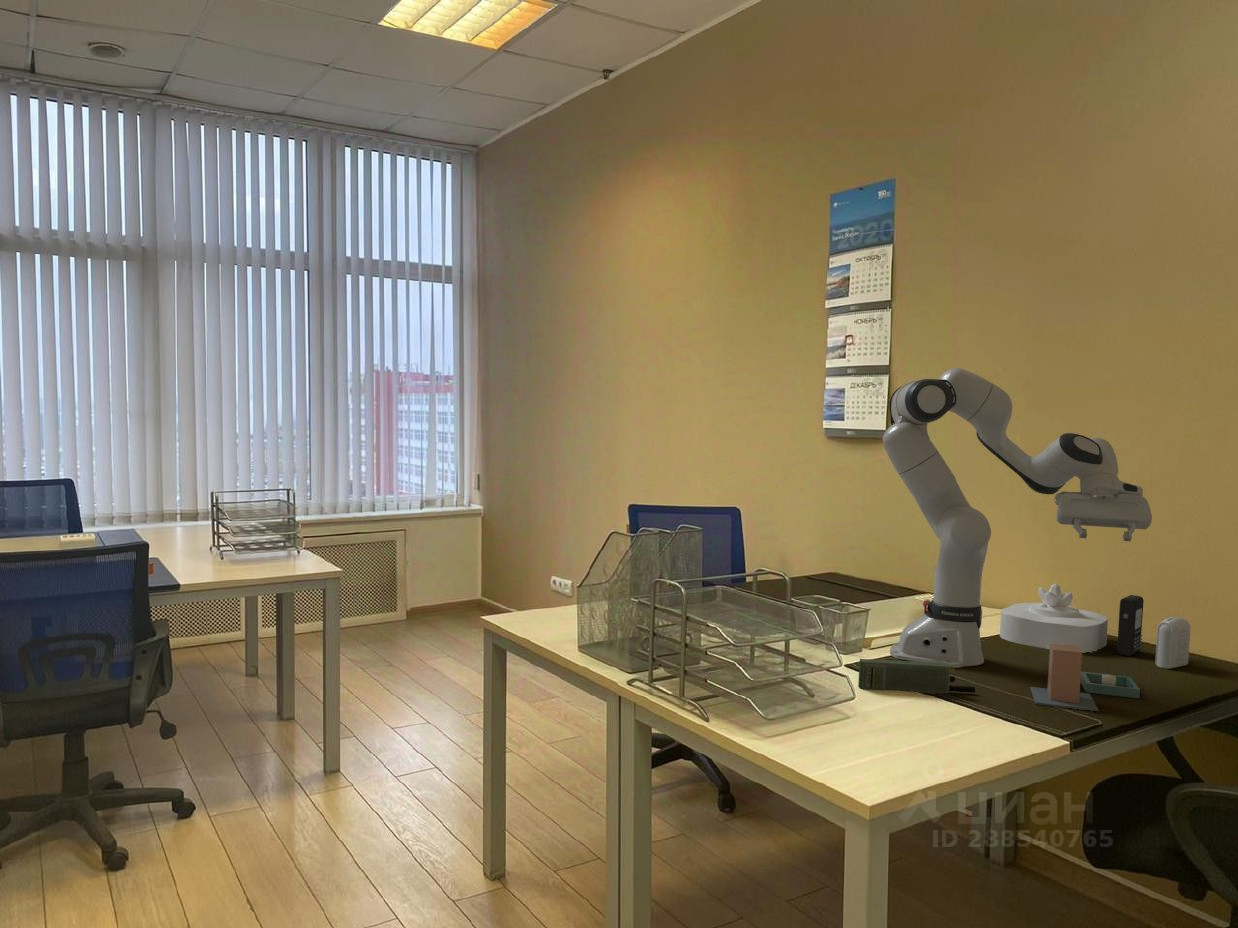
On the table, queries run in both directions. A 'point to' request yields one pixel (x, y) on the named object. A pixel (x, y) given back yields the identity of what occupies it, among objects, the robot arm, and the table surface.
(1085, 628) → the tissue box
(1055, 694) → the brown tall block
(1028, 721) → the table surface
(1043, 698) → the rubber mat
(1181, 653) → the photo printer
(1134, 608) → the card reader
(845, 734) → the table surface
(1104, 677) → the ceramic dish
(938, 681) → the handheld radio
